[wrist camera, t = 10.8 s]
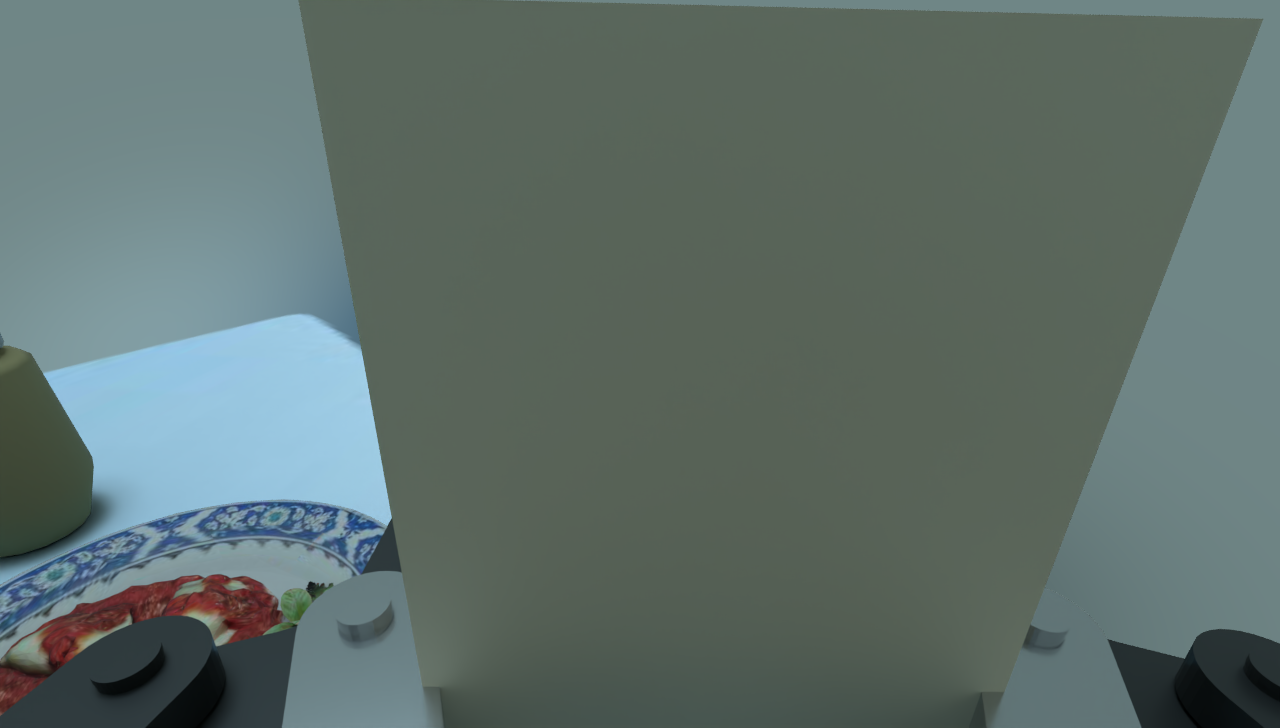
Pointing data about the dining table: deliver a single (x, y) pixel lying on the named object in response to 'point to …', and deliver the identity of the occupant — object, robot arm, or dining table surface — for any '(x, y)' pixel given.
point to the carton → (747, 334)
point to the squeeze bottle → (37, 460)
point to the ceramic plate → (180, 580)
